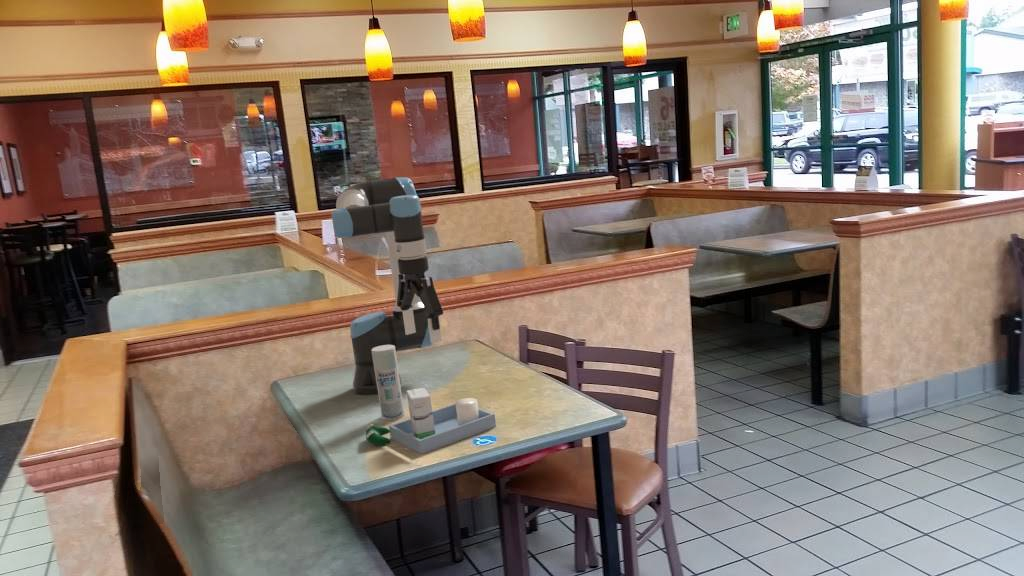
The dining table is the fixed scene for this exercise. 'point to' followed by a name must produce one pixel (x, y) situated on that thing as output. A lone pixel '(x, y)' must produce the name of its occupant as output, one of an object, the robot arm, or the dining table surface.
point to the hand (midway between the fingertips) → (423, 337)
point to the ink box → (420, 413)
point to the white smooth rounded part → (466, 410)
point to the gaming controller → (377, 435)
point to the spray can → (388, 382)
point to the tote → (441, 429)
